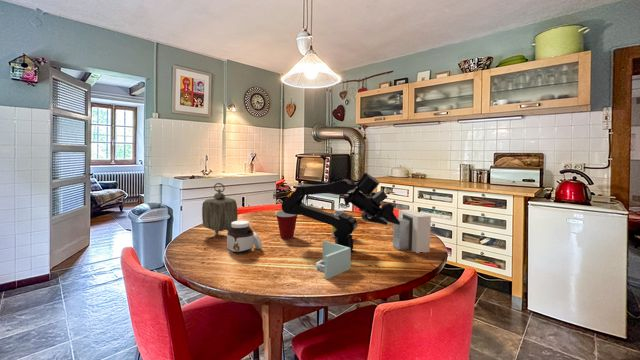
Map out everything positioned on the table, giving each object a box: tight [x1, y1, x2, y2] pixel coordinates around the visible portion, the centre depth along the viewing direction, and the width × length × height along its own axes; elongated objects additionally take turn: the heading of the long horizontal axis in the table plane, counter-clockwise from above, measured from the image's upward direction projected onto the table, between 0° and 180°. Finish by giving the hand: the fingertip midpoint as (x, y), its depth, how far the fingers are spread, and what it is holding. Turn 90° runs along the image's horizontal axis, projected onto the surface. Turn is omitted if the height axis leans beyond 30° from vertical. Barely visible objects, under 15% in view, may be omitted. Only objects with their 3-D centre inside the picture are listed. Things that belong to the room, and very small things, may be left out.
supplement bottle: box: [331, 208, 345, 238], centre depth 140 cm, size 7×7×13 cm
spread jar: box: [226, 220, 263, 255], centre depth 119 cm, size 12×11×12 cm
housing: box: [398, 209, 432, 254], centre depth 125 cm, size 6×14×15 cm, turn 16°
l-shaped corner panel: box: [315, 240, 352, 280], centre depth 101 cm, size 12×12×8 cm
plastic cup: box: [274, 209, 298, 240], centre depth 137 cm, size 11×11×12 cm
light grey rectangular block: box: [392, 217, 411, 251], centre depth 124 cm, size 10×5×12 cm, turn 106°
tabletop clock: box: [201, 182, 239, 239], centre depth 137 cm, size 14×9×25 cm, turn 58°
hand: (393, 223), depth 120 cm, fingers open, 9 cm apart
